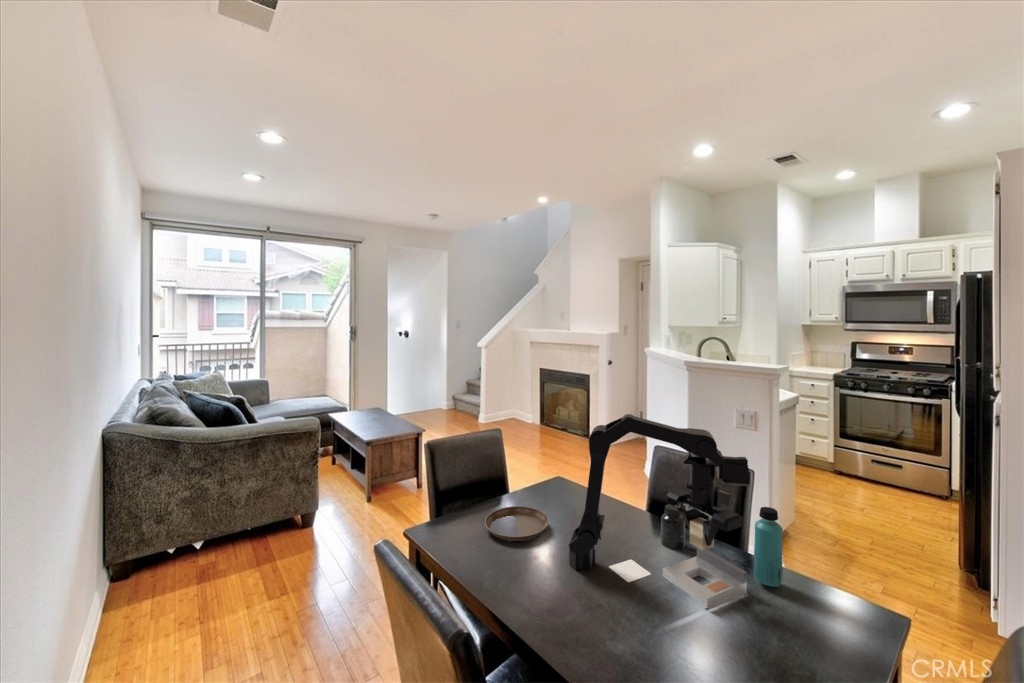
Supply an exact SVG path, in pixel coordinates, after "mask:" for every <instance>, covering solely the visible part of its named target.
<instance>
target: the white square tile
mask: <svg viewBox="0 0 1024 683" xmlns="http://www.w3.org/2000/svg"><path fill="white" fill-rule="evenodd" d="M608 568H609V569H611V571H613V572H615V574H617V575H618V576H619V577H621V578H622V579H623V580H625V582H627V583H631V582H633V581H636V580H639V579H642V578H645V577H648V576H651V575H652V573H651V572H649V571H648V570H646V569H645V568H644V567H643V566H641V565H640V564H638V563H637V562H636V561H634V560H633V559H627V560H624V561H621V562H619V563H618V562H617V563H615V564H612V565H609V566H608Z"/></svg>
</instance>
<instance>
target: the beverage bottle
mask: <svg viewBox="0 0 1024 683" xmlns="http://www.w3.org/2000/svg"><path fill="white" fill-rule="evenodd" d="M758 516H759V517H760V519H759V520H756V521H755V523H754V545H753V551H754V552H753V563H752V564H753V576H754V579H755V580H756V581H757V582H758V583H760V584H761V585H764V586H767V587H779V586H781V585H782V583H783V580H784V579H783V570H784V569H783V561H784V559H783V558H784V556H783V532H784V529H783V527H782V526H781V525H780V524H779V523H778V522H777V521H778V520H779V513H778V510H777V509H776V508H773V507H769V506H761V507H760V509H759V514H758Z"/></svg>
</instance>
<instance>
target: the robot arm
mask: <svg viewBox="0 0 1024 683" xmlns="http://www.w3.org/2000/svg"><path fill="white" fill-rule="evenodd" d="M630 433H632V434H635V435H639V436H643V437H647V438H651V439H654V440H657V441H661V442H664V443H668V444H671V445H674V446H677V447H680V449H683V450H684V451H686V452H687V454H686V455H684V456H683V457H682V462H683V464H684V465H690V478H689V479H690V480H689V482H690V483H686V489H688V490H689V491H686V490H684V489H682V488H679V489H676V490H672V491H669V492H668V493H667V494H666V503H667V504H671V505H673V506H676V505H678V506H679V508H677V510H678V511H679V512H680V514H681V516H682V517H683V519H684V521H685V526H687V528H688V531H689V532H690V520H693V519H697V518H699V514H700V513H702V514H704V515H706V516H708V519H706V520H707V521H703V528H704V535H705V541H706V544H707V546H710V545H711V543H712V541H713V539H714V540H715V537H716V534H717V532H718V530H721V531H722V532H723V531H724V532H730V531H733V530H736V529H739V528H741V527H742V528H743V518H742V516H741V515H740V514H739V513H736V512H734V511H732V510H730V509H722V510H718V509H715V508H721V505H723V506H725V507H728V508H729V507H730V503H731V499H732V494H731V493H729V492H726V491H724V490H721V489H720V488H719V485H716V476H717V479H718V480H721V483H722V484H723V485H732V486H733V485H734V486H741V487H743V486H745V487H749V486H750V484H751V474H750V469H749V464H748V463H749V462H748V461H749V460H748V459H747V457H746V456H725V455H723V454H722V452H721V450H719V449H718V448H717V447H718V446H717V442H716V440H715V438H714V436H713V434H712V433H711V432H710V431H709V430H706V429H700V428H691V427H690V428H689V427H688V428H685V427H684V428H683V427H682V428H681V427H676V426H671V425H668V424H663V423H660V422H657V421H653V420H649V419H646V418H641V417H638V416H636V415H633V414H631V413H628V414H624V415H623V416H622V417H619V418H617V419H615V420H613V421H610V422H609V423H606V424H605V425H604V424H600V425H596V426H595V427H593V429H592V431H591V433H590V435H589V437H588V450H589V451H588V452H589V459H590V466H589V472H588V473H589V474H588V482H587V489H586V497H585V505H584V511H583V514H582V518H581V520H580V524H579V525H578V527H576V528H574V530H573V532H572V534H571V535H572V536H571V538H570V540H569V544H568V547H569V553H568V554H569V556H568V558H569V559H568V560H569V564H568V565H569V567H570V568H572V569H573V571H575V572H578V571H580V572H586V571H589V570H591V569H592V568H593V566H595V565H596V549H595V546H596V545H598V542H599V540H602V536H603V533H604V521H605V517H606V515H605V514H601V512H600V503H601V497H602V489H603V480H604V474H605V467H606V466H605V465H606V459H607V457H608V454H609V451H610V448H611V445H612V444H614V443H617V441H619V440H620V439H622V438H623V437H624V436H626V435H628V434H630ZM716 474H717V475H716Z"/></svg>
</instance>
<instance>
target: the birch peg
mask: <svg viewBox="0 0 1024 683" xmlns="http://www.w3.org/2000/svg"><path fill="white" fill-rule="evenodd" d="M707 520H708V519H706V518H703V517H701V516H700V517H698V518H697V519H693V520H690V531H689V544H690V545H692V546H694V547H695V548H696V549H697V548H699V549H700V550H702V551H703V550H706V549H707V550H708V549H711V548H714V547H715V545H714V544H715V538H714V539H713V541H712V543H711V545H710V546H707V544H706V541H705V535H704V528H703V521H707Z"/></svg>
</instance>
